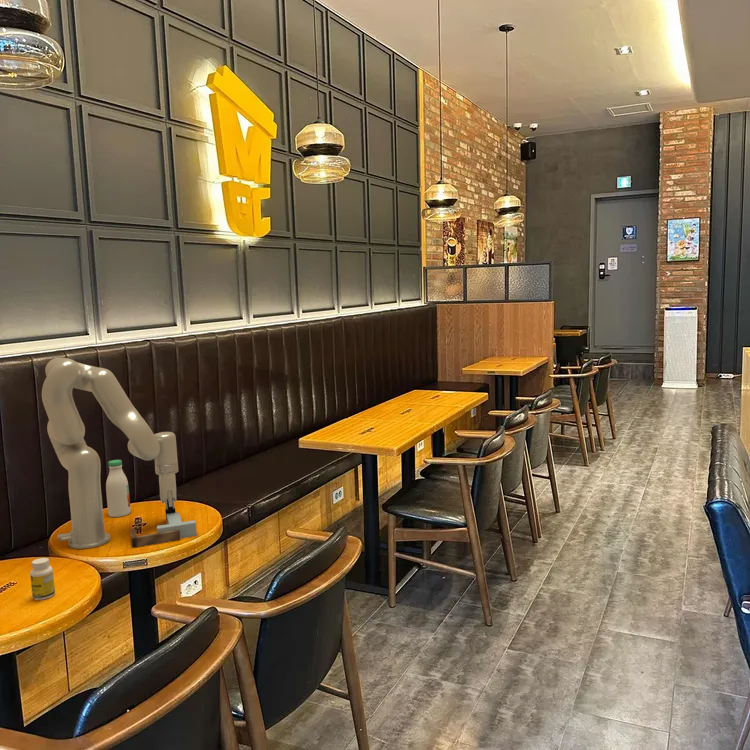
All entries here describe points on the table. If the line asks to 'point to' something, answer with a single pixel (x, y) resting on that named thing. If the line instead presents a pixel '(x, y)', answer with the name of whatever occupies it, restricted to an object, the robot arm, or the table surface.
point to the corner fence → (153, 538)
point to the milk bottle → (117, 490)
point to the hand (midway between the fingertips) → (171, 519)
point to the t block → (178, 526)
